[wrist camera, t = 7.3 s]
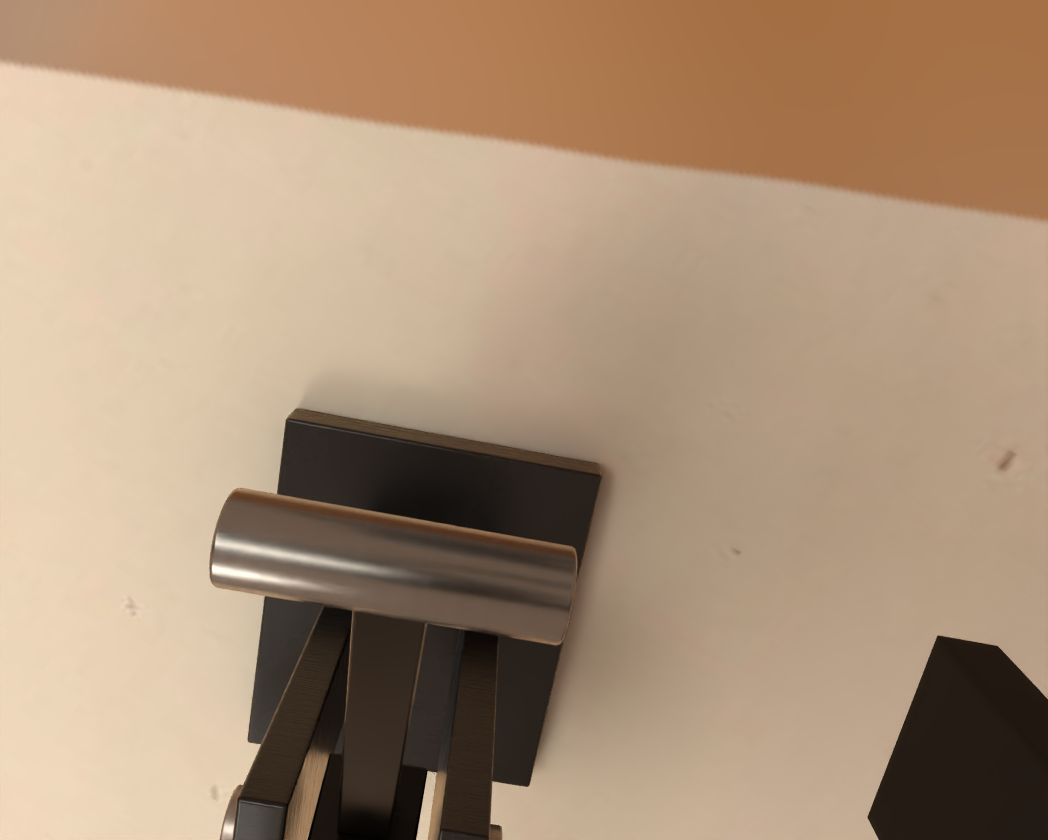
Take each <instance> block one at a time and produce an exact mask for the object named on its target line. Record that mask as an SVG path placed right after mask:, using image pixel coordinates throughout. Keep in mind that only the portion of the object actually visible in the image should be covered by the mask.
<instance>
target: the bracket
mask: <svg viewBox="0 0 1048 840" xmlns="http://www.w3.org/2000/svg"><path fill="white" fill-rule="evenodd" d="M601 479H602V476H601V472H600V468H599V465H598V464H597V463H591V462H586V461H580V460H575V459H569V458H564V457H558V456H553V455H548V454H542V453H537V452H531V451H526V450H520V449H515V448H509V447H504V446H498V445H493V444H487V443H482V442H476V441H471V440H466V439H460V438H455V437H449V436H444V435H438V434H433V433H427V432H422V431H416V430H411V429H405V428H400V427H395V426H389V425H384V424H378V423H373V422H367V421H362V420H356V419H351V418H345V417H340V416H334V415H329V414H323V413H318V412H313V411H307V410H302V409H295V410H294V411H293V412H292V413H291V414H290V415H289V417H288V418H287V419H286V423H285V431H284V440H283V448H282V456H281V465H280V473H279V481H278V490H277V494H278V495H284V496H290V497H295V498H301V499H306V500H312V501H318V502H323V503H329V504H335V505H340V506H346V507H352V508H357V509H363V510H369V511H374V512H380V513H386V514H391V515H397V516H403V517H408V518H414V519H419V520H425V521H431V522H436V523H442V524H448V525H453V526H459V527H465V528H470V529H476V530H482V531H487V532H493V533H499V534H504V535H510V536H516V537H521V538H527V539H533V540H538V541H544V542H549V543H555V544H561V545H566V546H572V547H573V548H575V550H576V554H577V577H576V585H577V581H578V577H579V573H580V568H581V564H582V560H583V556H584V551H585V547H586V543H587V538H588V534H589V530H590V526H591V521H592V517H593V513H594V509H595V504H596V500H597V496H598V492H599V487H600V483H601ZM575 590H576V587H575ZM351 624H352V611H351V610H345V609H340V608H334V607H328V606H322V605H316V604H310V603H304V602H298V601H292V600H287V599H281V598H275V597H269V596H265V598H264V607H263V615H262V623H261V632H260V640H259V648H258V657H257V665H256V673H255V682H254V690H253V698H252V707H251V715H250V723H249V732H248V742H250V743H256V744H261V746H260V748H259V751H258V753H257V755H256V757H255V760H254V762H253V764H252V766H251V769H250V771H249V773H248V775H247V778H246V780H245V782H244V784H243V785H238V786H237V787H236V789H235V790H234V792H233V794H232V796H231V799H230V801H229V804H228V807H227V810H226V814H225V817H224V821H223V825H222V830H221V835H220V840H307V837H308V834H309V830H310V827H311V824H312V820H313V816H314V812H315V808H316V804H317V801H318V797H319V793H320V789H321V785H322V781H323V777H324V773H325V770H326V766H327V762H328V758H329V755H330V754H331V753H337V754H342V753H343V739H344V725H345V710H346V696H347V682H348V667H349V653H350V639H351ZM563 641H564V639H563V640H562V642H561V644H559V645H551V644H545V643H540V642H534V641H528V640H522V639H516V638H510V637H504V636H498V635H492V634H487V633H481V632H475V631H469V630H463V629H457V628H451V627H445V626H440V625H434V624H428V625H427V630H426V636H425V642H424V648H423V653H422V659H421V665H420V670H419V676H418V682H417V688H416V693H415V699H414V705H413V710H412V716H411V722H410V728H409V733H408V739H407V745H406V751H405V756H404V762H403V764H406V765H412V766H418V767H425V768H427V771H431V772H437V776H436V783H435V791H434V798H433V805H432V813H431V820H430V827H429V835H428V840H502V827H501V826H499V825H493V824H490V820H491V798H492V781H493V782H500V783H506V784H512V785H518V786H525V787H528V786H529V785H530V781H531V777H532V773H533V769H534V764H535V760H536V756H537V751H538V747H539V743H540V739H541V734H542V730H543V726H544V722H545V717H546V713H547V709H548V705H549V700H550V696H551V692H552V688H553V683H554V679H555V675H556V671H557V666H558V662H559V658H560V654H561V649H562V645H563Z"/></svg>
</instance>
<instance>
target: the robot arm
mask: <svg viewBox="0 0 1048 840" xmlns="http://www.w3.org/2000/svg"><path fill="white" fill-rule="evenodd" d="M868 819H869V821H870V823H871V825H872V827H873V829H874V831H875V833H876V835H877V837H878V839H879V840H1048V699H1047V698H1046V697H1045V696H1044V695H1043V694H1042V693H1041V691H1040V690H1039V689H1038V688H1037V687H1036V686H1035V685H1034V684H1033V683H1032V682H1031V681H1030V680H1029V679H1028V678H1027V677H1026V676H1025V674H1024V673H1023V672H1022V671H1021V670H1020V669H1019V668H1018V667H1017V666H1016V665H1015V664H1014V663H1013V662H1012V661H1011V660H1010V658H1009V657H1008V656H1007V655H1006V654H1005V653H1004V652H1003V651H1002V650H1001V649H1000V648H999V647H998V646H995V645H989V644H983V643H978V642H972V641H966V640H961V639H955V638H949V637H944V636H937V638H936V641H935V644H934V646H933V649H932V651H931V654H930V657H929V659H928V662H927V664H926V667H925V670H924V672H923V675H922V677H921V680H920V682H919V685H918V688H917V690H916V693H915V695H914V698H913V701H912V703H911V706H910V708H909V711H908V714H907V716H906V719H905V721H904V724H903V727H902V729H901V732H900V734H899V737H898V740H897V742H896V745H895V747H894V750H893V752H892V755H891V758H890V760H889V763H888V765H887V768H886V771H885V773H884V776H883V778H882V781H881V784H880V786H879V789H878V791H877V794H876V797H875V799H874V802H873V804H872V807H871V810H870V812H869V815H868Z"/></svg>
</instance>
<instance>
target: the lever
mask: <svg viewBox="0 0 1048 840" xmlns="http://www.w3.org/2000/svg"><path fill="white" fill-rule="evenodd" d="M576 577H577V554H576V550H575V548H573V547H572V546H566V545H561V544H555V543H549V542H544V541H538V540H533V539H527V538H521V537H516V536H510V535H504V534H499V533H493V532H487V531H482V530H476V529H470V528H465V527H459V526H453V525H448V524H442V523H436V522H431V521H425V520H419V519H414V518H408V517H403V516H397V515H391V514H386V513H380V512H374V511H369V510H363V509H357V508H352V507H346V506H340V505H335V504H329V503H323V502H318V501H312V500H306V499H301V498H295V497H290V496H284V495H278V494H273V493H267V492H261V491H256V490H250V489H244V488H237V489H235V490H233V491H232V492H231V494H230V495H229V497H228V498H227V500H226V502H225V504H224V506H223V508H222V510H221V513H220V516H219V518H218V521H217V525H216V528H215V532H214V536H213V541H212V546H211V553H210V579H211V582H212V584H213V585H214V586H215V587H217V588H222V589H228V590H234V591H240V592H245V593H251V594H257V595H263V596H269V597H275V598H281V599H287V600H292V601H298V602H304V603H310V604H316V605H322V606H328V607H334V608H340V609H345V610H351V611H352V624H351V639H350V653H349V667H348V682H347V696H346V710H345V725H344V739H343V753H342V754H337V753H331V754H330V755H329V758H328V762H327V766H326V770H325V773H324V777H323V781H322V785H321V789H320V793H319V797H318V801H317V804H316V808H315V812H314V816H313V820H312V824H311V828H310V832H309V836H308V839H307V840H416V837H417V831H418V825H419V819H420V813H421V807H422V801H423V795H424V789H425V783H426V777H427V768H425V767H418V766H412V765H406V764H403V762H404V756H405V751H406V745H407V739H408V733H409V728H410V722H411V716H412V710H413V705H414V699H415V693H416V688H417V682H418V676H419V670H420V665H421V659H422V653H423V648H424V642H425V636H426V630H427V625H428V624H434V625H440V626H445V627H451V628H457V629H463V630H469V631H475V632H481V633H487V634H492V635H498V636H504V637H510V638H516V639H522V640H528V641H534V642H540V643H545V644H551V645H559V644H561V642H562V640H563V639H564V636H565V634H566V631H567V628H568V624H569V620H570V616H571V611H572V606H573V601H574V594H575V587H576Z"/></svg>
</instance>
